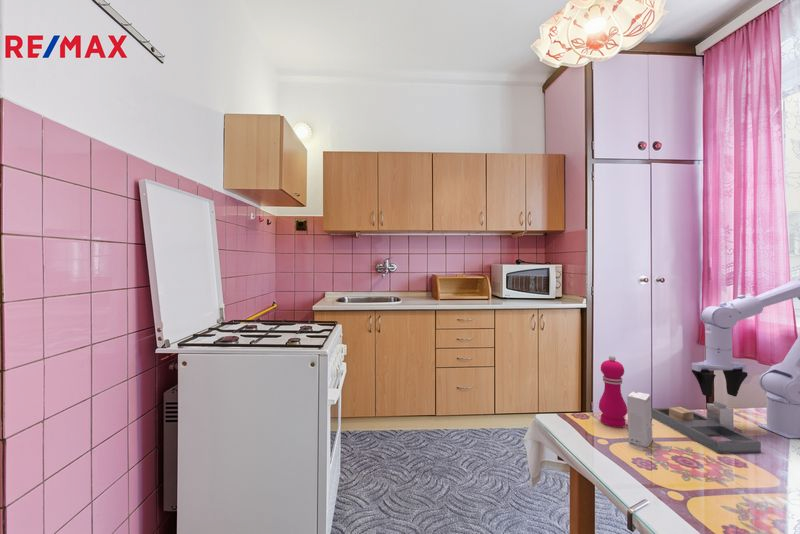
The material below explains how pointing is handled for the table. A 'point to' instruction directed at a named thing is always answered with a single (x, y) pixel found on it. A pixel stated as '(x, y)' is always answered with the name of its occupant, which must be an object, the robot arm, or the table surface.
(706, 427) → the grey slotted frame
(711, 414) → the grey block with tab
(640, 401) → the skincare box
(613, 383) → the pepper mill
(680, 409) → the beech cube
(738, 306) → the robot arm
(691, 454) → the table surface
